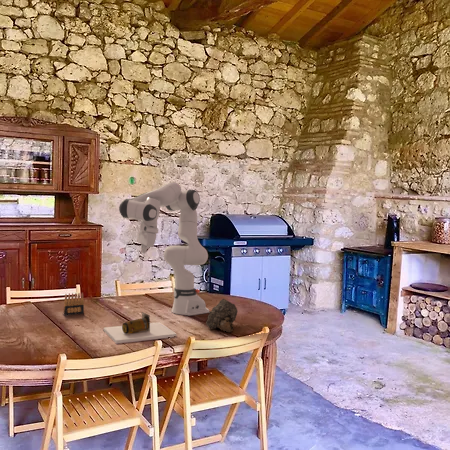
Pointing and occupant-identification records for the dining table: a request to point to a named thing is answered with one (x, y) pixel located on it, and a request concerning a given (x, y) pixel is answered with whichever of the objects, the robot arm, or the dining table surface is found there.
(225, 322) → the rock
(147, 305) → the dining table surface
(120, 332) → the tile board
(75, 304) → the ammunition clip
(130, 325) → the condiment
